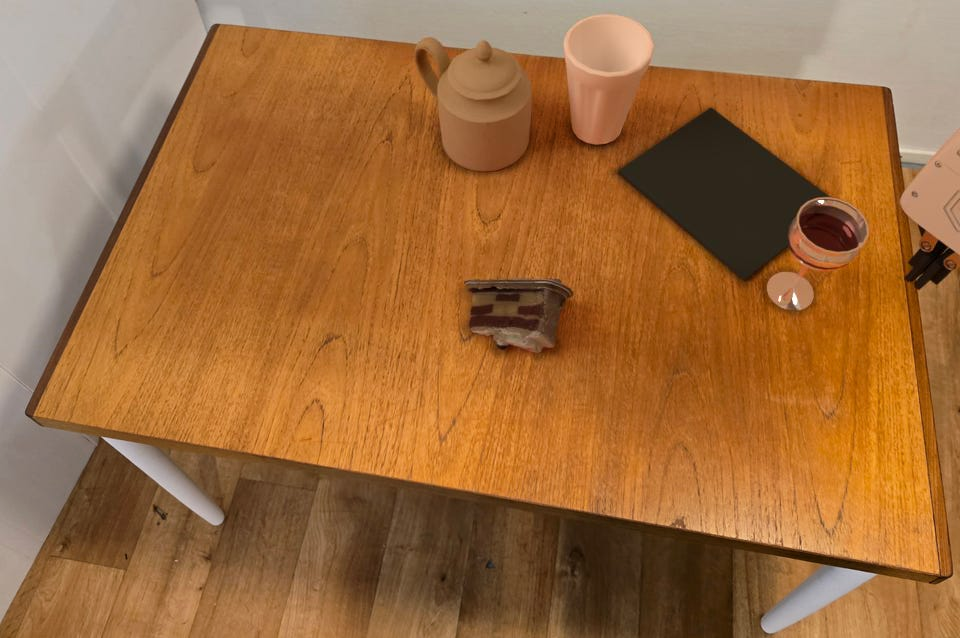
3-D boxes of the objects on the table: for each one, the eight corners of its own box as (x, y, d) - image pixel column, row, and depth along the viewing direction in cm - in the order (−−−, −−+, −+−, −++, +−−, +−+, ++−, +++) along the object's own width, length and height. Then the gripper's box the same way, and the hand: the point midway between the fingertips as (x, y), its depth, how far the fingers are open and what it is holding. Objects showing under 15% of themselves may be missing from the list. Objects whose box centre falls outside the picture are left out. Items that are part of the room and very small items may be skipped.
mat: (838, 207, 86) (840, 204, 86) (744, 281, 82) (745, 278, 81) (709, 110, 94) (710, 107, 94) (617, 173, 90) (618, 169, 89)
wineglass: (835, 299, 80) (885, 234, 70) (788, 328, 79) (831, 266, 68) (792, 255, 83) (833, 186, 73) (745, 282, 82) (780, 215, 71)
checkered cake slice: (445, 342, 79) (520, 338, 70) (456, 279, 81) (531, 266, 72) (511, 362, 85) (589, 360, 76) (520, 303, 87) (598, 294, 77)
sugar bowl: (402, 161, 92) (385, 65, 78) (424, 97, 97) (411, -3, 84) (521, 178, 90) (524, 83, 77) (537, 112, 95) (542, 12, 82)
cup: (594, 171, 90) (607, 89, 79) (540, 124, 94) (544, 40, 82) (653, 131, 93) (674, 46, 81) (598, 87, 97) (610, 1, 85)
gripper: (924, 93, 52) (825, 244, 68) (1133, 228, 46) (969, 359, 62) (988, 45, 54) (877, 202, 70) (1195, 168, 48) (1022, 309, 64)
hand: (921, 275), depth 66 cm, fingers closed
